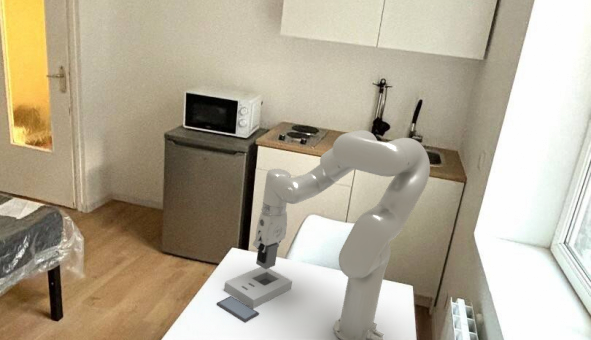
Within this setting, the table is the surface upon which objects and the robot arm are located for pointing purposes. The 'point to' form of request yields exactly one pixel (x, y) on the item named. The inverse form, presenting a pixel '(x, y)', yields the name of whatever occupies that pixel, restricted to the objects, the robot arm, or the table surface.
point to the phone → (237, 309)
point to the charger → (269, 256)
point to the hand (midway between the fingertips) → (266, 258)
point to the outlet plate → (257, 286)
